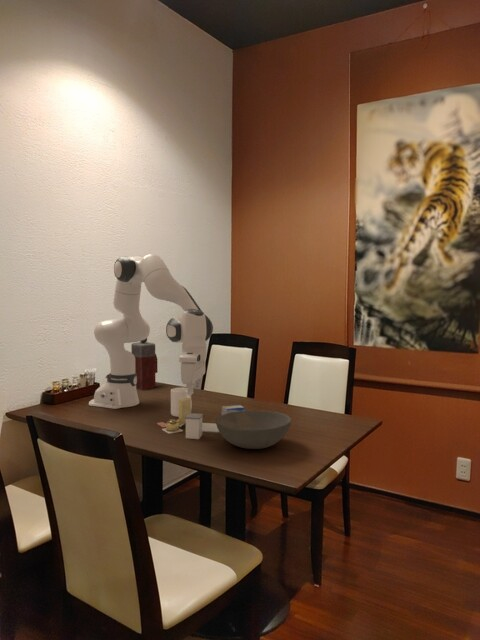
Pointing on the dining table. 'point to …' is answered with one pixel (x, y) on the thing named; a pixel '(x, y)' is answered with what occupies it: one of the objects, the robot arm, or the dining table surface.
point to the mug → (176, 396)
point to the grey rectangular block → (193, 425)
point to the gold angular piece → (180, 415)
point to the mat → (209, 427)
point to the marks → (169, 431)
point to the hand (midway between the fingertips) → (194, 391)
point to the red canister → (145, 364)
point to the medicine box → (232, 409)
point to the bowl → (253, 428)
